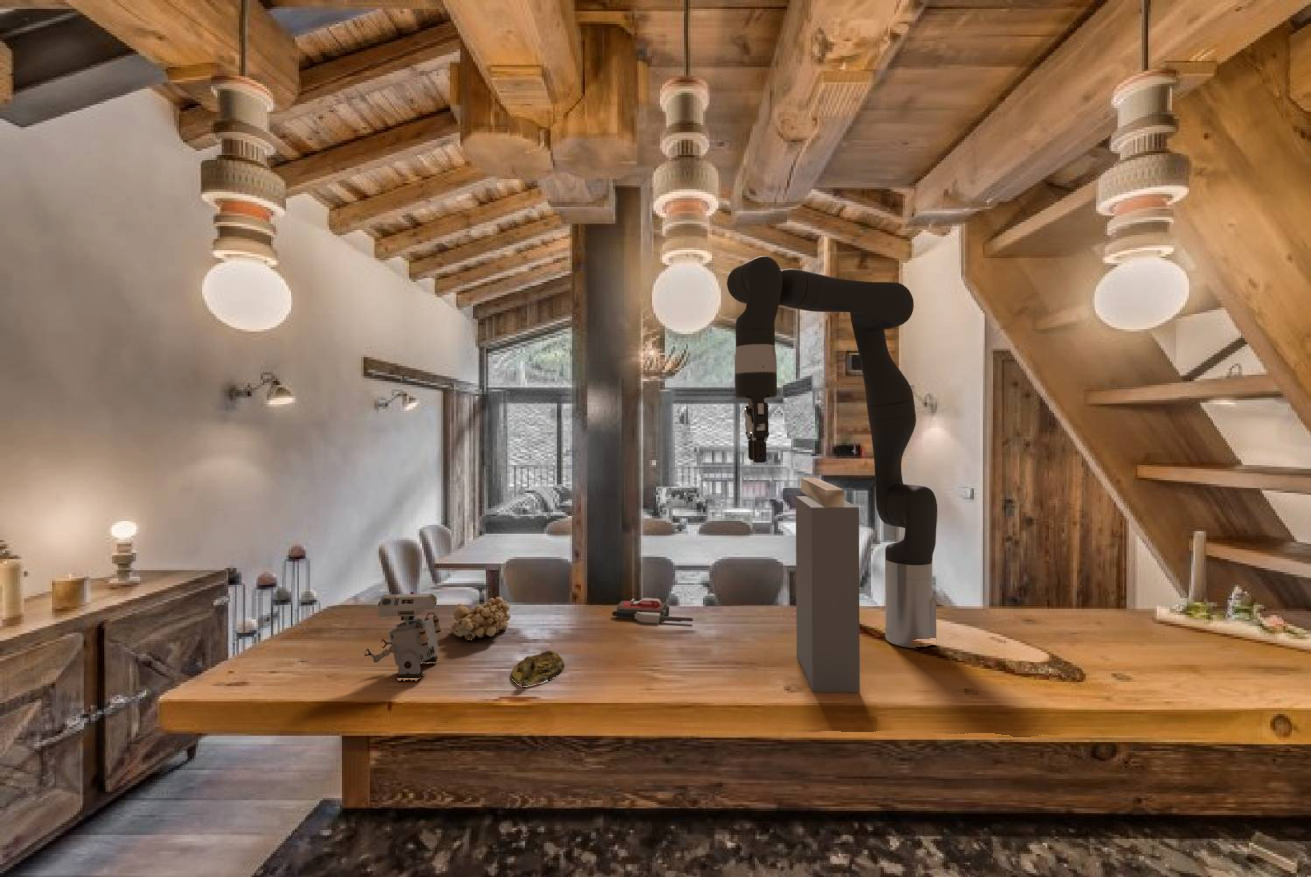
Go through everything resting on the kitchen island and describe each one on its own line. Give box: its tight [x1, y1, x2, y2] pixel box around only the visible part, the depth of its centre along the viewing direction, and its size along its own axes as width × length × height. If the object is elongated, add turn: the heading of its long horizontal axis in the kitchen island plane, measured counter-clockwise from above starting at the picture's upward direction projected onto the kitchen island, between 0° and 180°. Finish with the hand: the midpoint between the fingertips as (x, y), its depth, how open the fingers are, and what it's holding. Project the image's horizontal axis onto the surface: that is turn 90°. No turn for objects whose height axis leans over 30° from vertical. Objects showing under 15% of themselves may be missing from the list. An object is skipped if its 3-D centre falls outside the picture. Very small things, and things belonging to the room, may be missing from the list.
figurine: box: [364, 591, 442, 679], centre depth 112 cm, size 9×12×15 cm
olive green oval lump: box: [510, 650, 565, 687], centre depth 112 cm, size 9×5×15 cm
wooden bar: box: [800, 477, 845, 508], centre depth 113 cm, size 3×24×3 cm, turn 176°
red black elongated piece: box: [611, 597, 694, 624], centre depth 143 cm, size 9×4×20 cm
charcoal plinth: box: [795, 495, 861, 693], centre depth 109 cm, size 8×16×32 cm, turn 176°
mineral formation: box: [449, 596, 512, 641], centre depth 130 cm, size 8×13×15 cm
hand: (757, 461), depth 107 cm, fingers open, 8 cm apart
